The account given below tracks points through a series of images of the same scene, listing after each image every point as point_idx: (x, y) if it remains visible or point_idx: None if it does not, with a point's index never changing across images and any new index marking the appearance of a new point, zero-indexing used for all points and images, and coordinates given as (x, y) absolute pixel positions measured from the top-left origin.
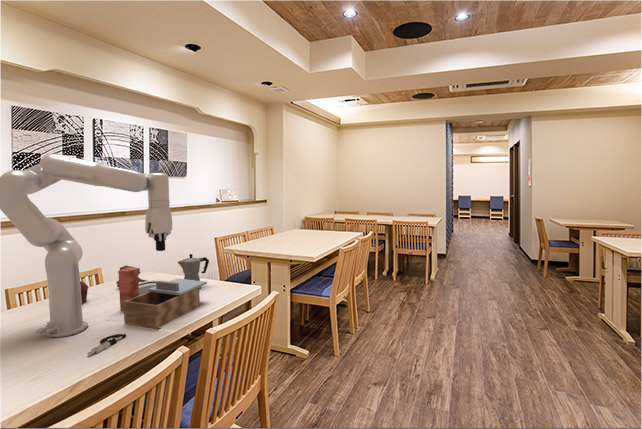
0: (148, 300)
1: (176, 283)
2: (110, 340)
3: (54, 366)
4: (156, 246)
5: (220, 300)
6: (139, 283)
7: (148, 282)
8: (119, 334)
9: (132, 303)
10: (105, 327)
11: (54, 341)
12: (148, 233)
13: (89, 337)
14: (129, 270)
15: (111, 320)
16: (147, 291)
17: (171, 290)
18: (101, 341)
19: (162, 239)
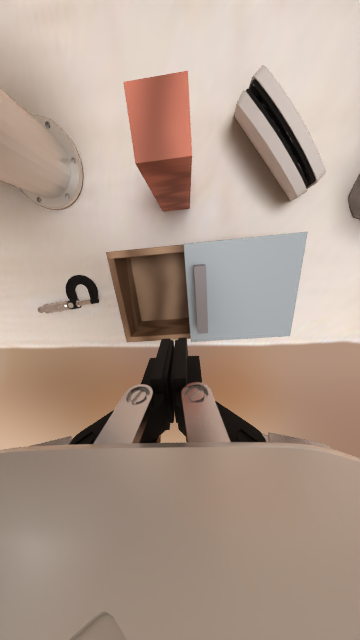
0: (178, 252)
1: (202, 331)
2: (69, 307)
3: (4, 295)
4: (147, 368)
5: (292, 322)
6: (270, 82)
7: (283, 118)
8: (94, 289)
9: (113, 280)
10: (99, 231)
11: (19, 204)
12: (6, 456)
13: (64, 248)
14: (150, 150)
15: (124, 205)
16: (259, 144)
17: (195, 313)
18: (69, 283)
19: (180, 426)
